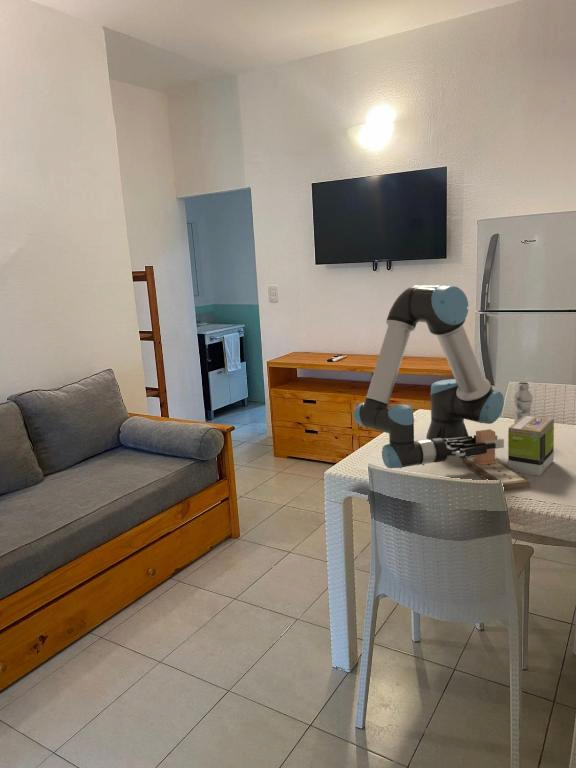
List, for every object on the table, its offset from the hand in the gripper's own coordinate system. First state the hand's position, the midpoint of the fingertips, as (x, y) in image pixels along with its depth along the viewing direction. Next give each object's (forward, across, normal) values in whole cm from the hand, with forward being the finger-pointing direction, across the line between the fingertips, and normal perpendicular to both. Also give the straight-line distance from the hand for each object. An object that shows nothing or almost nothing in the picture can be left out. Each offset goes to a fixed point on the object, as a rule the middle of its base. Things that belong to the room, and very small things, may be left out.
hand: (499, 441), depth 185 cm
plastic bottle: (+24, -25, -9) cm, 36 cm away
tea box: (+9, +3, -9) cm, 13 cm away
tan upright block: (-5, 0, -6) cm, 8 cm away
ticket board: (-5, +5, -9) cm, 11 cm away
